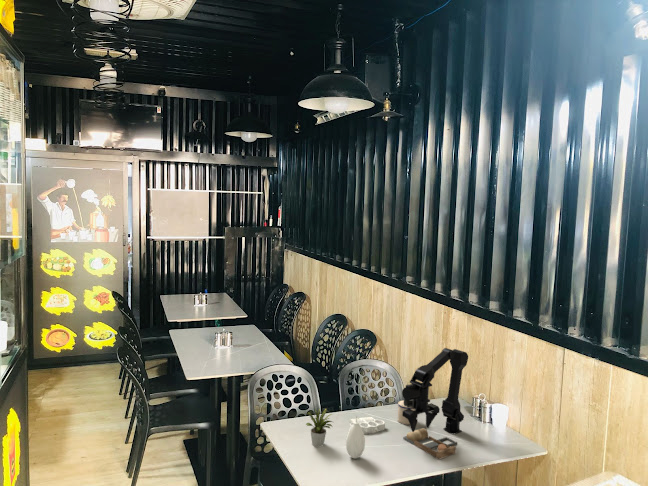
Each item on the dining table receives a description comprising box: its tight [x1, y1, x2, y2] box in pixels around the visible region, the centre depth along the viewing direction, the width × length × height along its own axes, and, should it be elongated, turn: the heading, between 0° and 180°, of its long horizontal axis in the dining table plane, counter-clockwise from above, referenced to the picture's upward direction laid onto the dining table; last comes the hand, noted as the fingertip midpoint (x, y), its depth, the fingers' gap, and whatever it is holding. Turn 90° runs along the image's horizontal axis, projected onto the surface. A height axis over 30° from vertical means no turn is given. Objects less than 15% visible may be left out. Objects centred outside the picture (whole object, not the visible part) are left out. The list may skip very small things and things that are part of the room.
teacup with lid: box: [397, 399, 415, 425], centre depth 260 cm, size 12×9×12 cm
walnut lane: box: [414, 435, 457, 460], centre depth 229 cm, size 11×15×3 cm
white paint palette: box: [348, 416, 386, 434], centre depth 249 cm, size 3×18×15 cm
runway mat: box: [402, 435, 440, 450], centre depth 235 cm, size 10×14×1 cm
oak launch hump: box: [406, 427, 429, 442], centre depth 238 cm, size 9×5×5 cm, turn 125°
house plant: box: [302, 407, 333, 448], centre depth 228 cm, size 14×14×16 cm
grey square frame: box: [437, 436, 458, 447], centre depth 236 cm, size 7×7×1 cm
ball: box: [437, 444, 447, 451], centre depth 226 cm, size 4×4×4 cm
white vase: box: [345, 416, 366, 460], centre depth 218 cm, size 8×8×18 cm
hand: (420, 429), depth 236 cm, fingers open, 9 cm apart
